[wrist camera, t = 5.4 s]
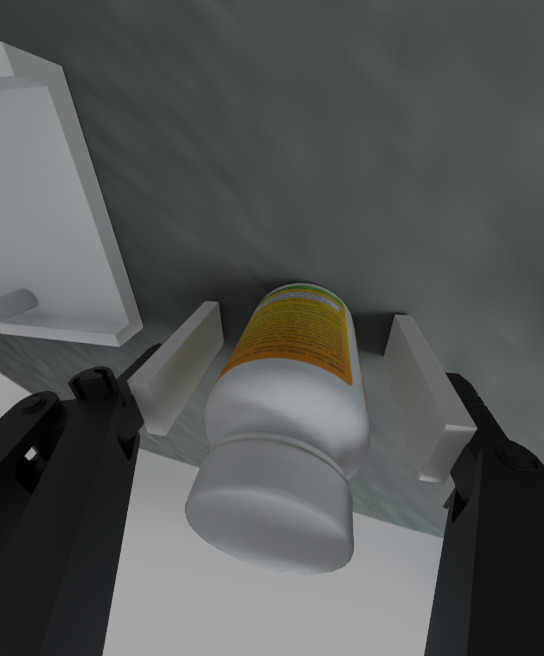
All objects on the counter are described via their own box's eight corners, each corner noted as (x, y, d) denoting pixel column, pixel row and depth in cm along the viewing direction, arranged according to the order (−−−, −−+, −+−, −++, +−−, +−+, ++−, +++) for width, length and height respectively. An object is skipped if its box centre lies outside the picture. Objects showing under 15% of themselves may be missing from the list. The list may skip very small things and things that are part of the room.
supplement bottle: (236, 308, 14) (109, 487, 6) (323, 260, 12) (311, 443, 4) (285, 376, 16) (240, 584, 8) (369, 346, 14) (427, 594, 6)
